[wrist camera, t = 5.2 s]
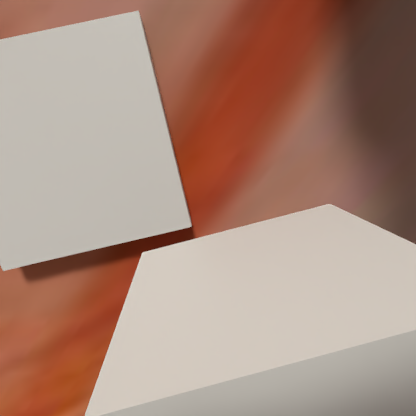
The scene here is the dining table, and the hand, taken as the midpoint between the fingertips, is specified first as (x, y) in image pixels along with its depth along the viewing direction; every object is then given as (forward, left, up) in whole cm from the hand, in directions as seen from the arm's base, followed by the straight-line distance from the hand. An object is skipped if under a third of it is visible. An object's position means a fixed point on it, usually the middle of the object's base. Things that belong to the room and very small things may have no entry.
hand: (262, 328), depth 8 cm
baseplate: (+8, -6, -11) cm, 15 cm away
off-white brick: (0, 0, -1) cm, 1 cm away
